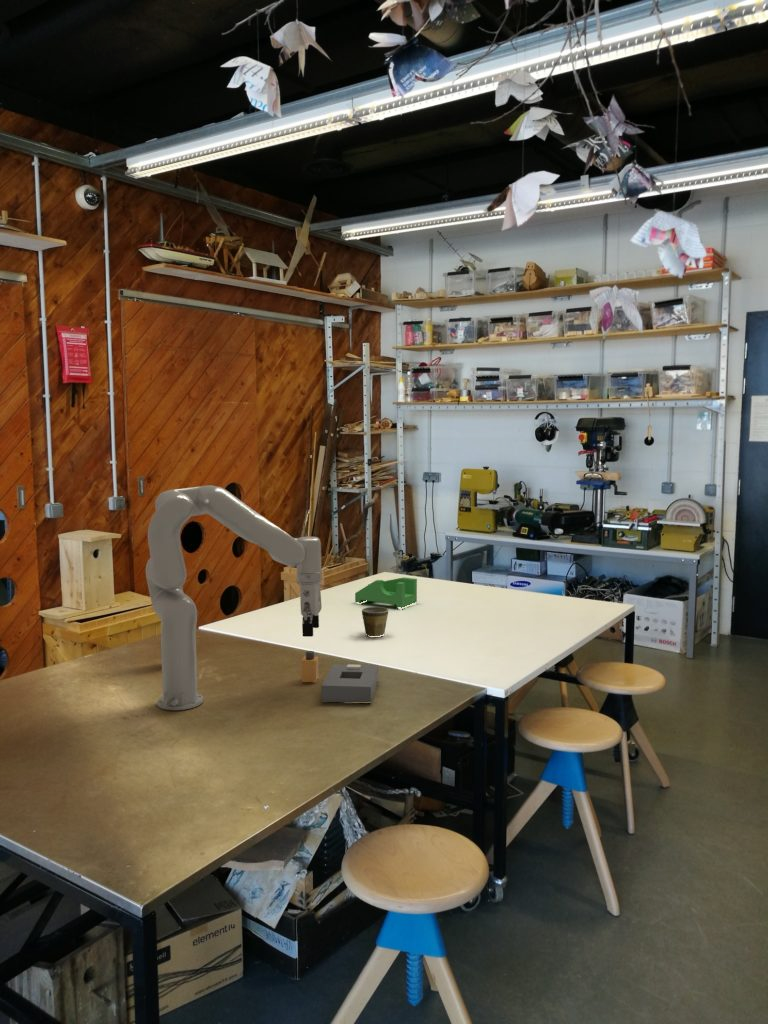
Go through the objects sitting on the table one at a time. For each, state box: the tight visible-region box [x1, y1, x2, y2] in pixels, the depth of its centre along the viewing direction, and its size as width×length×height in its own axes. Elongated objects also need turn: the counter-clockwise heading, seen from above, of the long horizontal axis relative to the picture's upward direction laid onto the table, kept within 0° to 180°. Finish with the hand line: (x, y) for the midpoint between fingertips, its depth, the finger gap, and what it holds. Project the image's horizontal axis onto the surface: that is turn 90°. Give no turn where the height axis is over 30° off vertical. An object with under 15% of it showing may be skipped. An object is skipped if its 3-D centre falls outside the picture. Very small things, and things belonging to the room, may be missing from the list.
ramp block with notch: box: [354, 576, 418, 608], centre depth 341 cm, size 24×13×12 cm, turn 59°
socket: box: [321, 663, 379, 703], centre depth 227 cm, size 20×14×6 cm
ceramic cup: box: [361, 606, 389, 636], centre depth 290 cm, size 13×10×10 cm
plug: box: [301, 650, 319, 683], centre depth 237 cm, size 4×4×9 cm
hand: (311, 631), depth 236 cm, fingers open, 9 cm apart
